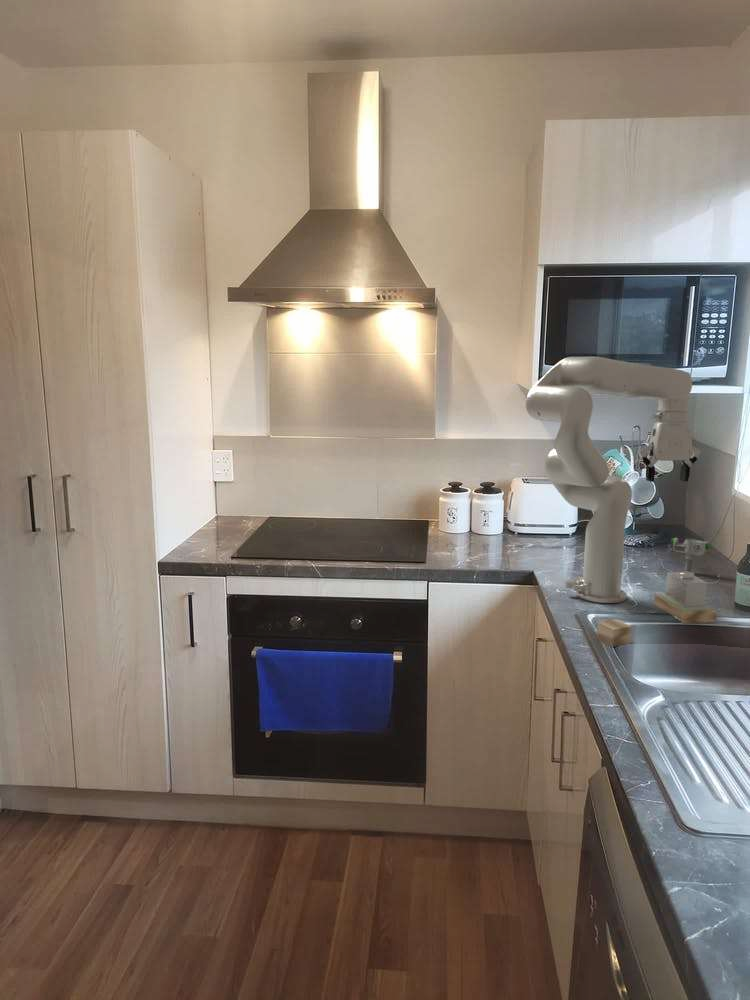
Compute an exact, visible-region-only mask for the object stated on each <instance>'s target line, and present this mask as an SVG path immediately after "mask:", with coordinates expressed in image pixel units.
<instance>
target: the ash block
mask: <svg viewBox="0 0 750 1000" xmlns="http://www.w3.org/2000/svg"><path fill="white" fill-rule="evenodd" d="M596 624H597V625H596V639H597V640H598V641H601V642H603V643H604V644H606V645H608V646H610V647H613V648H614V647H619V646H624V645H629V644H631V643H632V642H631V640H632V628H633V626H632V625H629V624H627V623H626V622H624V621H621V620H619V619H617V618H615V619H614V618H613V619H607V620H602V621H601V620H600V621H597V623H596Z"/></svg>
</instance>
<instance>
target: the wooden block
mask: <svg viewBox="0 0 750 1000" xmlns="http://www.w3.org/2000/svg"><path fill="white" fill-rule="evenodd" d="M653 605H655V606H657V607H658V608H659V609H661V610H662V611H664V612H665V611H666V612H665V613H667V612H668V613H670V614H672V615H674V616H676V617H677V618H678V619H680V621H681V622H680V621H679V622H680V623H682V624H702V623H703V624H704V623H705V624H706V623H707V622H713V623H716V622H717V612H718V611H716V610H714V609H713V608H712V607H710V606H709V605H706V604H705V607H683V606H682V605H680V604H678V603H677V602H675V601H673V600H672V599H670V598H669V597H667V596H665V593H654V600H653ZM668 613H667V614H668ZM670 614H669V615H670ZM707 624H708V623H707Z"/></svg>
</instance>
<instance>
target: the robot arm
mask: <svg viewBox="0 0 750 1000" xmlns="http://www.w3.org/2000/svg"><path fill="white" fill-rule="evenodd" d="M692 388H693V380H692V376H691V373H690V372H688V371H685V370H683V369H677V368H671V367H663V366H657V365H648V364H643V363H635V362H628V361H622V360H617V359H611V358H607V357H601V356H568V357H565V358H563V359H561V360H559V361H558V362H557V363H556V364H554V365H553V366H552V367H551V368H550V369H549V370H548V371H547V372H546V373H545V374H544V375H543V376H542V377H541V378H540V379H539V380H538V381H537V382H536V383H535V384H534V385H533V386H532V387H531V388H530V390H529V391H528V394H527V397H526V400H525V410H526V411H527V413H528V416H530V417H531V418H533V419H535V420H538V421H544V422H545V421H546V422H557V423H558V422H559V423H560V425H559V428H558V432H557V435H556V436H555V439H554V443H553V449H551V450H550V452H548V454H547V455H546V459H545V464H544V466H545V468H544V469H545V473H546V476H547V478H548V480H549V482H551V484H552V485H553V487H554V488H555V489H556V490H557V492H558V493H559V494H560V495H561V497H562V498H563V499H564V500H565V502H567V503H568V504H569V505H570V506H573V507H575V508H579V509H583V510H588V511H592V512H594V514H593V515H592V517H591V518H590V520H589V521H588V523H587V525H586V528H585V540H584V553H583V567H582V569H583V570H582V571H583V572H582V574H583V575H582V576H578V579H576V580H574V581H573V580H564V583H563V587H564V589H572V590H573V591H575V595H576V596H577V597H578V598H581V600H582V599H583V600H585V601H589V602H594V603H598V604H599V603H601V604H616V603H622V602H624V601H625V600H627V593H626V592H625V590H623V589H622V575H623V562H624V550H625V549H624V548H625V534H626V533H625V532H626V524H627V518H628V513H629V509H630V506H631V504H632V503H631V502H632V499H633V498H632V497H633V490H632V487H631V486H630V483H628V482H627V481H626V480H625V479H623V478H621V477H617V476H614V475H609V473H610V471H609V470H610V469H609V466H608V463H607V461H606V459H605V458H604V456H603V454H602V453H601V452H600V450H599V449H598V448H597V446H596V445H595V443H594V442H593V440H592V439H591V436H590V435H589V429H590V428H589V427H590V422H591V418H592V414H593V409H594V407H593V406H594V404H593V403H594V402H593V398H592V396H591V393H593V394H601V395H608V396H609V395H610V396H616V397H625V398H641V399H646V400H657V401H658V404H657V405H658V406H657V412H656V413H653V415H652V418H653V419H655V420H656V422H654V424H653V427H652V431H651V435H650V440H649V444H648V445H646V446H644V447H641V448H640V449H639V450H638V451H637V454H638V456H639V458H640V460H641V462H642V463H643V464H644V466H645V478H646V479H645V480H646V481H647V482H650V483H652V482H654V481H655V474H656V468H655V467H654V466H655V464H657V462H658V461H661V462H663V461H665V462H667V461H668V462H669V461H673V462H674V461H678V462H679V461H680V462H681V464H682V465H680V471H679V472H680V474H679V480H680V481H683V482H689V478H690V473H691V468H692V467H693V464H694V463H695V462H697V460H698V458H699V456H700V454H701V452H702V451H701V449H699V448H697V447H695V446H693V443H692V441H693V439H692V427H691V423H688V417H689V416H688V415H689V414H688V413H689V405H690V394H691V392H692ZM647 453H648V456H649V457H647V455H646V454H647Z"/></svg>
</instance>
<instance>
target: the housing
mask: <svg viewBox="0 0 750 1000" xmlns="http://www.w3.org/2000/svg"><path fill="white" fill-rule="evenodd" d="M665 582H666V583H665V596H667V597H669V598H670V599H672V600H673V601H675V602H677V603H678V604H680V605H682V606H683V607H705V605H706V598H707V597H706V596H707V586H708V582H707V581H705V580H703V579H701V578H699V577H697V576H696V575H695V573H694V572H692V571H691V572H687V571H685V570H684V571H683V570H682V571H667V572H666V581H665Z"/></svg>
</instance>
